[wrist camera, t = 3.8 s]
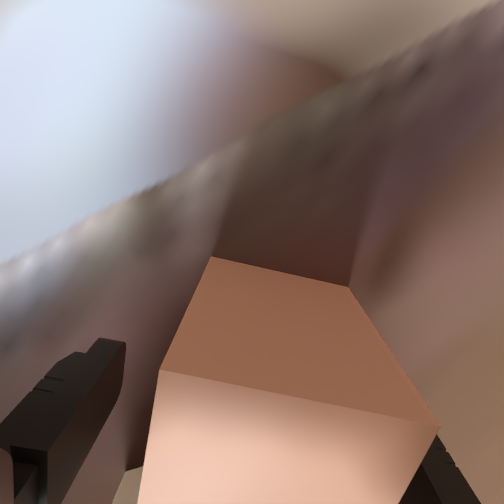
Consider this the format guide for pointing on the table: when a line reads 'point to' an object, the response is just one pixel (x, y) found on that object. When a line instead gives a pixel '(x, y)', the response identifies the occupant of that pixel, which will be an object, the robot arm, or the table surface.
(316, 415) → the terracotta block
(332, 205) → the table surface
